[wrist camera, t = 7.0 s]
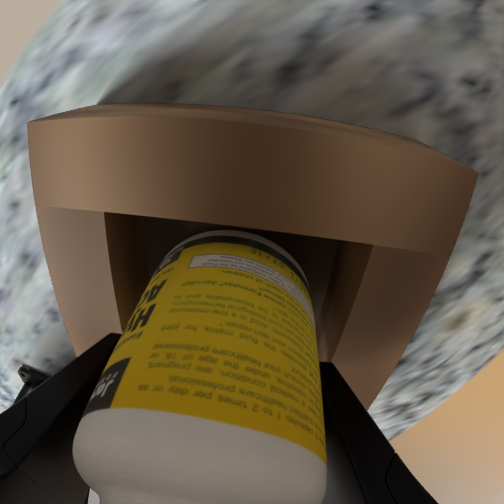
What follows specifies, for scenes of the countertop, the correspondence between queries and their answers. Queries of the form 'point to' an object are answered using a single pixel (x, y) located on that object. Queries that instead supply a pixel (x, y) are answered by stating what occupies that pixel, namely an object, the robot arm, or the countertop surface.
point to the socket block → (248, 215)
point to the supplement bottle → (211, 384)
